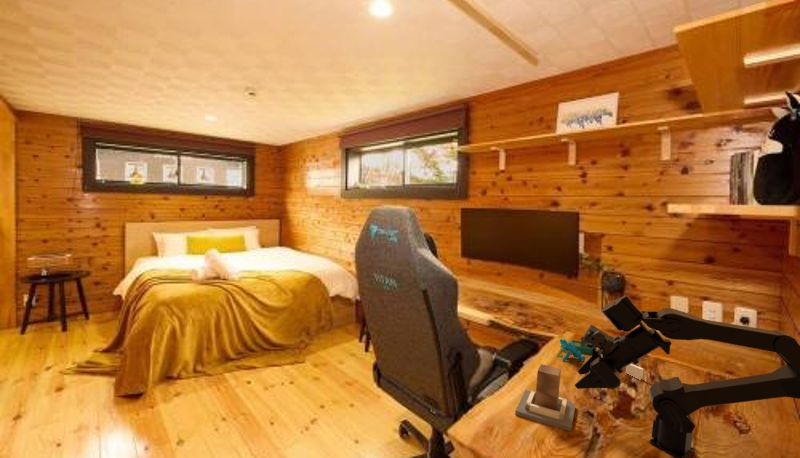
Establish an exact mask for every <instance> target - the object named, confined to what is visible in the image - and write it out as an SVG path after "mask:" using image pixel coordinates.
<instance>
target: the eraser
mask: <svg viewBox="0 0 800 458" xmlns="http://www.w3.org/2000/svg"><path fill="white" fill-rule="evenodd" d="M626 373H627V374H629V375H628V376H630V375H631V376H630V377H632V376H633V377H632V378H634V377H635V378H634V379H636V378H637V379H636V380H638V379H639V381H642V380H643V378H644V368H642V367H640V366H637V364H634V363H632V364H630V365H628V366H626V367H625V374H626ZM627 374H626V375H627ZM641 379H642V380H641Z"/></svg>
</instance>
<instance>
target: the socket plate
mask: <svg viewBox="0 0 800 458" xmlns="http://www.w3.org/2000/svg"><path fill="white" fill-rule="evenodd" d="M535 398H536V389H531V390H527V389H525V390H524V392H523V394H522V396H521V399H520V401H519V403H518V404H517V407H516V408H515V411H514V413H515V414H514V415H517V416H519V417H523V418H525V419H526V418H527V419H529V420H533V421H536V422H538V423H541V424H546V425H548V426H551V427H554V428H558V429H561V430H563V431H564V430H565V431H568V432H572V427H573V422H574V417H575V413H576V412H575V411H576V403H575V402H571V401H568V398H564V397H560V396H559V398H558V407H557V410H556V411H555V410H552V409H548V408H545V407H541V406H538V405H535Z"/></svg>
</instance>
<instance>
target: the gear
mask: <svg viewBox="0 0 800 458" xmlns="http://www.w3.org/2000/svg"><path fill="white" fill-rule="evenodd" d="M559 343H560V345H559V347H560V348H559V351H558V353H556V356H557V357H558V356H560V355H561V354H562V353H564V354H565V355H564V356H563V357H562V358H561V360H562V361H563V362H565V361H566V360H567V359H568V358H569V357H570V356H572V355H573V357H574V358H575V359H577V360H579V361H580V362H584V363H585V362H586V356H585V355H583V353H581V352H580V351H579V352H578V351H577V348H576V347H575V346H572V345H571V343H570V341H567V340H566V339H565V338H560V339H559Z"/></svg>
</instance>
